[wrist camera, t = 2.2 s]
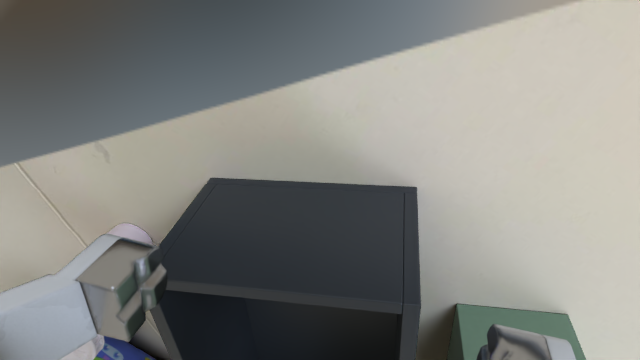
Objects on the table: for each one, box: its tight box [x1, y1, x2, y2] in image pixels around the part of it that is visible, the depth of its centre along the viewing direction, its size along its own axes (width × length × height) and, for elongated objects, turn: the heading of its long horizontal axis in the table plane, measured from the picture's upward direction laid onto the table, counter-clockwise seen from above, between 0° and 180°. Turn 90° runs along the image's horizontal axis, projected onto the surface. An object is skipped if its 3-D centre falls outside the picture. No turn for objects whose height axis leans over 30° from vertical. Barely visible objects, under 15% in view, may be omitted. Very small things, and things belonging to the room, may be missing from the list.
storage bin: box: [150, 178, 421, 360], centre depth 30 cm, size 15×25×10 cm, turn 4°
